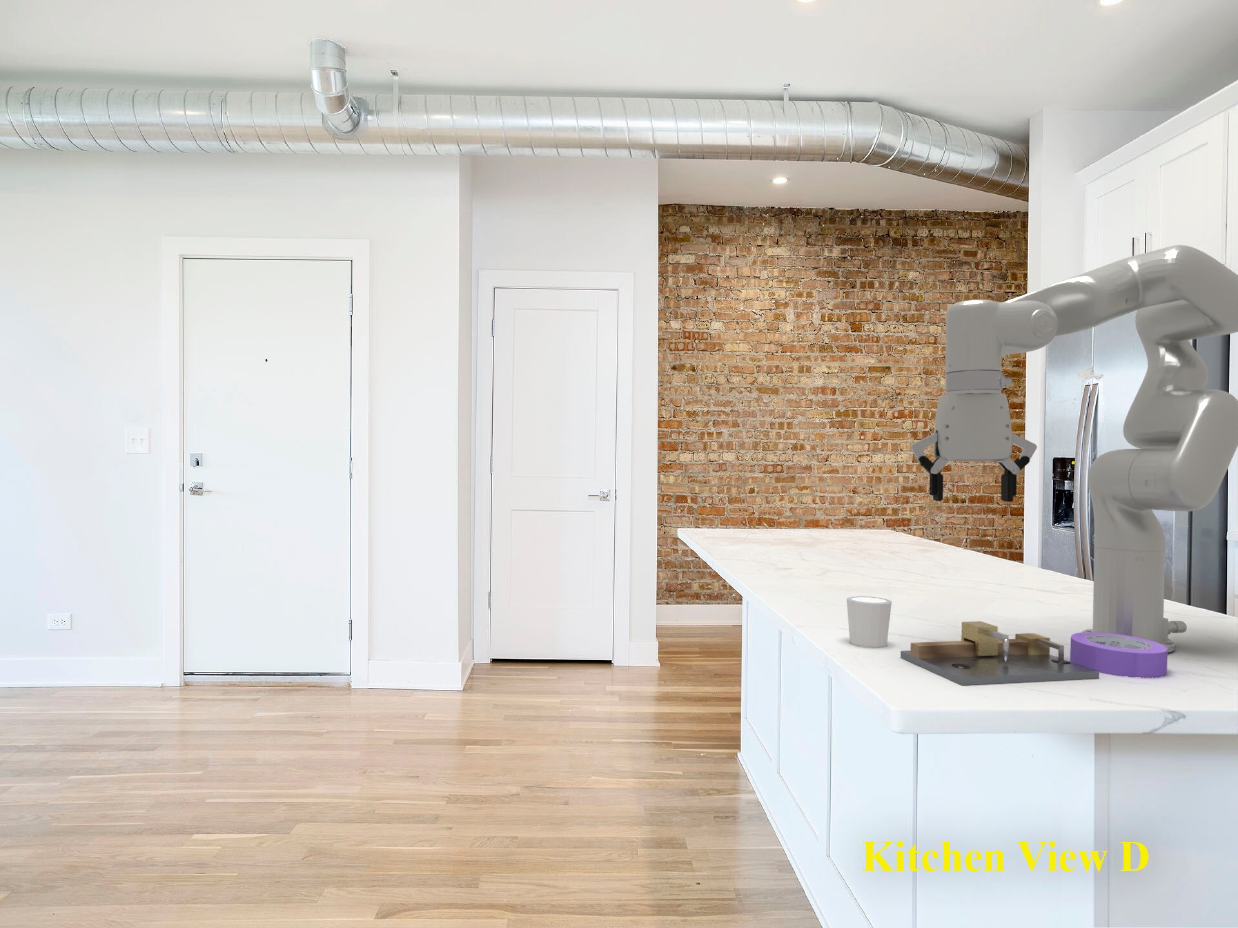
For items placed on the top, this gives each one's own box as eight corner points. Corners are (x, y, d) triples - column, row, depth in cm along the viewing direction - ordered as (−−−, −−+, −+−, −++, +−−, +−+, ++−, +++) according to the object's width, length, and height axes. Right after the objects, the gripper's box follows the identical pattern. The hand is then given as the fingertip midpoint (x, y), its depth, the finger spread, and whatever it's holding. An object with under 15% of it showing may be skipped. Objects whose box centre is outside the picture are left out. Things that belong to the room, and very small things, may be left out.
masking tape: (1188, 678, 105) (1189, 650, 105) (1113, 680, 103) (1114, 652, 103) (1120, 656, 116) (1120, 631, 116) (1051, 658, 114) (1052, 632, 114)
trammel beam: (1033, 648, 115) (1033, 633, 115) (1072, 661, 108) (1072, 644, 107) (908, 653, 110) (908, 637, 110) (940, 667, 103) (940, 650, 103)
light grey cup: (894, 649, 117) (895, 604, 117) (847, 646, 118) (848, 602, 118) (887, 639, 124) (888, 596, 124) (843, 637, 125) (844, 594, 125)
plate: (1023, 652, 117) (1023, 645, 117) (1098, 678, 103) (1099, 670, 103) (900, 657, 112) (900, 650, 112) (962, 685, 99) (962, 677, 99)
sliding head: (979, 648, 113) (980, 621, 113) (1017, 662, 106) (1018, 632, 106) (960, 649, 113) (961, 621, 113) (997, 663, 105) (997, 633, 105)
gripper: (1026, 387, 115) (1025, 500, 115) (906, 388, 118) (905, 499, 118) (1045, 382, 107) (1044, 503, 108) (916, 384, 110) (916, 501, 110)
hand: (972, 500), depth 113 cm, fingers open, 9 cm apart
